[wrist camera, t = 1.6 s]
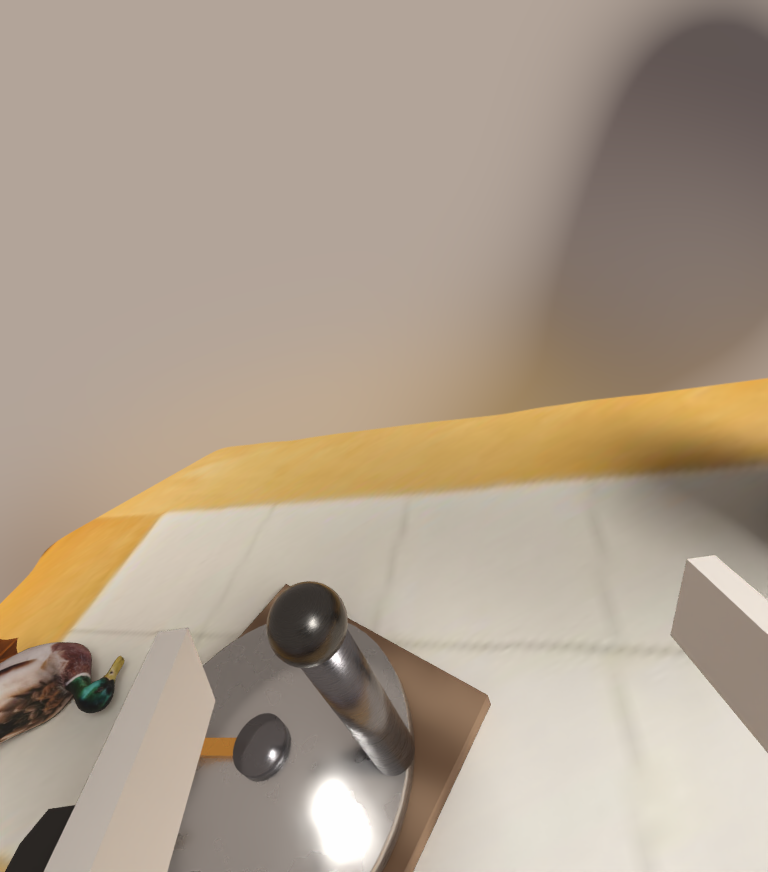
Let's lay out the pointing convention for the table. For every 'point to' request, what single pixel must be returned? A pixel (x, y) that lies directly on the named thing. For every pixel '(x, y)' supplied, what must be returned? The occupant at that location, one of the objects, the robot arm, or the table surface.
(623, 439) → the table surface
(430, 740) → the walnut stand board
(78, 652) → the decorative duck model
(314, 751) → the dial
